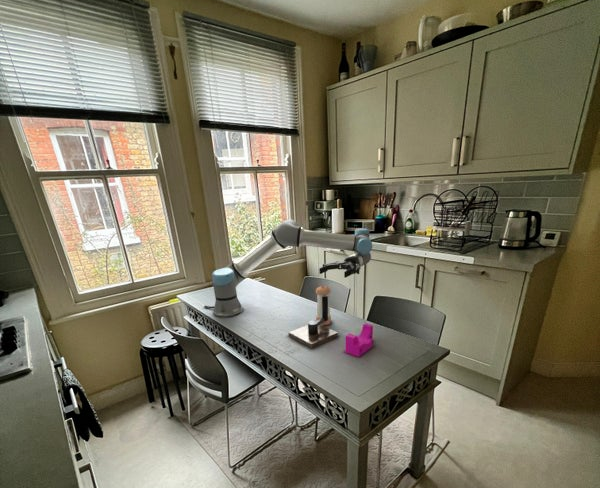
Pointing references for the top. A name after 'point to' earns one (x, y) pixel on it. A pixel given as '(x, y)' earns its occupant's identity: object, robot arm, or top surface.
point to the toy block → (360, 341)
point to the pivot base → (313, 336)
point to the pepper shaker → (321, 291)
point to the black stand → (314, 324)
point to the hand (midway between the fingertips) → (332, 272)
